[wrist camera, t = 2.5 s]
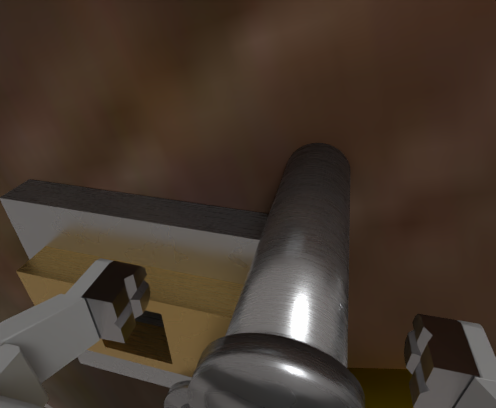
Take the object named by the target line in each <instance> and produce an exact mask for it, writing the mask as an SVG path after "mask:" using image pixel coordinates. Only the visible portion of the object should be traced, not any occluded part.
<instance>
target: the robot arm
mask: <svg viewBox="0 0 496 408" xmlns="http://www.w3.org/2000/svg"><path fill="white" fill-rule="evenodd" d="M146 276H147V273H146V269H145V267H143V266H139V265H134V264H129V263H124V262H119V261H113V260H108V259H103V258H100V259H98V260H96V261H95V262H94V263H93V264H92V265H91V266H90V267H89V268H88V269H87V270H86V272H85V273H84V274H83V275H82V276H81V277H80V278H79V279H78V280H77V282H76V283H75V284H74V285H73V286H72V287H71V288H70V289H69V290H68V291H67V293H66V294H59V295H57V296H55V297H53V298H51V299H48V300H46V301H44V302H42V303H40V304H38V305H36V306H34V307H32V308H30V309H28V310H26V311H24V312H21V313H19V314H17V315H15V316H13V317H11V318H9V319H7V320H5V321H3V322H1V323H0V408H45V407H44V406H45V404H46V403H47V401H48V400H49V399H48V394H47V392H46V390H45V389H44V387H43V385H42V384H41V383H42V382H43V381H45V380H46V379H48V378H49V377H50V376H52V375H53V374H54V373H56V372H57V371H58V370H60V369H61V368H63V367H64V366H65V365H67V364H68V363H69V362H71V361H72V360H73V359H75V358H76V357H78V356H79V355H80V354H82V353H83V352H84V351H86V350H87V349H89V348H90V347H91V346H93V345H94V344H95V343H97V342H98V341H99V340H100V339H105V340H111V341H116V342H121V343H126V341H127V339H128V338H129V336H130V334H131V333H132V331H133V329H134V328H135V326H136V322H135V318H137V317H139V316H140V315H142V314H143V313H144V311H145V310H146V308H147V306H148V303H149V299H150V286H149V284H148V283H147V282H146V281H145V280H144V279H145V277H146ZM412 323H413V328H414V330H413V331H411V332H409V333H408V335H407V337H406V340H405V348H404V357H405V364H406V368H407V369H408V370H409V371H410V373H411V374H412V376H411V379H410V381H409V388H410V393H411V399H412V404H413V408H496V357H495V355H494V352H493V350H492V348H491V345H490V343H489V341H488V338H487V336H486V334H485V331H484V329H483V327H482V326H481V325H480V324H477V323H471V322H465V321H459V320H458V321H457V320H454V319H448V318H441V317H435V316H429V315H423V314H417V315H416V316H415V318H414V320H413V322H412Z"/></svg>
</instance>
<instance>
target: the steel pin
mask: <svg viewBox="0 0 496 408" xmlns="http://www.w3.org/2000/svg"><path fill="white" fill-rule="evenodd" d="M349 228H350V165H349V162H348V160H347V158H346V157H345V155H344V154H343V153H342V152H341V151H340V150H338V149H337V148H335V147H333V146H331V145H328V144H323V143H312V144H307V145H305V146H302V147H300V148H299V149H297V150H296V151H295V152H294V153H293V154H292V155H291V157H290V158H289V160H288V163H287V166H286V168H285V171H284V174H283V177H282V179H281V182H280V185H279V188H278V191H277V193H276V196H275V199H274V202H273V205H272V207H271V210H270V213H269V216H268V218H267V221H266V224H265V227H264V230H263V232H262V235H261V238H260V241H259V243H258V246H257V249H256V252H255V255H254V257H253V260H252V263H251V266H250V269H249V271H248V274H247V277H246V280H245V282H244V285H243V288H242V291H241V294H240V296H239V299H238V302H237V305H236V307H235V310H234V313H233V316H232V319H231V321H230V324H229V327H228V330H227V332H226V335H225V336H224V337H221V338H219V339H217V340H215V341H213V342H211V343H210V344H209V345H208V346H207V347H206V348H205V349H204V350H203V352H202V354H201V356H200V359H199V361H198V364H197V366H196V369H195V371H194V374H193V376H192V379H191V381H190V383H189V386H188V389H187V400H188V403H189V406H190V408H365V395H364V391H363V389H362V387H361V385H360V383H359V381H358V380H357V379H356V377H355V376H354V375H353V374H352V373H351V372H350V371H349V370H348V369H347V351H348V289H349Z"/></svg>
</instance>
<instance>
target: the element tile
mask: <svg viewBox="0 0 496 408" xmlns="http://www.w3.org/2000/svg"><path fill="white" fill-rule="evenodd" d="M347 369H348V370H349V371H350V372H351V373H352V374H353V375H354V376H355V377H356V379H357V380H358V381H359V383H360V385H361V387H362V389H363V391H364V395H365V408H413V404H412V399H411V393H410V388H409V381H410V379H411V376H412V374H411V373H410V371H409V370H408V369H372V368H347Z"/></svg>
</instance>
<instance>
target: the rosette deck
mask: <svg viewBox="0 0 496 408" xmlns="http://www.w3.org/2000/svg"><path fill="white" fill-rule="evenodd" d="M0 200H1V203H2V205H3V207H4V209H5V211H6V213H7V215H8V217H9V219H10V221H11V223H12V225H13V227H14V229H15V231H16V233H17V235H18V237H19V239H20V241H21V243H22V245H23V247H24V249H25V251H26V253H27V255H28V257H29V259H30V260H29V261H28V262H26V263H25V264H24V265H23V266H22V267H21V268H20V269H18V270H17V271H16V272H17V274H18V275H19V277H20V279H21V281H22V283H23V285H24V287H25V288H26V290H27V292H28V294H29V296H30V298H31V300H32V302H33V303H34V305H35V306H36V305H38V304H40V303H42V302H44V301H46V300H48V299H51V298H53V297H55V296H57V295H59V294H66V293H67V291H68V290H69V289H70V288H71V287H72V286H73V285H74V284H75V283H76V282H77V280H78V279H79V278H80V277H81V276H82V275H83V274H84V273H85V272H86V270H87V269H88V268H89V267H90V266H91V265H92V264H93V263H94V262H95V261H96V260H98V259H100V258H103V259H108V260H113V261H119V262H124V263H129V264H134V265H139V266H143V267H145V269H146V273H147V276H146V277H145V279H144V280H145V281H146V282H147V283H148V284H149V286H150V299H149V303H148V306H147V308H146V310H145V311H144V313H143V314H142V315H140V316H139V317H137V318H135V322H136V326H135V328H134V329H133V331H132V333H131V334H130V336H129V338H128V339H127V341H126V343H121V342H116V341H111V340H105V339H100V340H99V341H98V342H97V343H95V344H94V345H93V346H91V347H90V348H89V349H87V350H86V351H84V352H83V353H82V354H80V355H79V356H78V359H79V361H80V363H82V364H85V365H89V366H93V367H96V368H100V369H103V370H107V371H111V372H114V373H118V374H122V375H125V376H129V377H133V378H136V379H140V380H144V381H147V382H151V383H155V384H158V385H162V386H165V387H169V388H170V390H169V392H168V394H167V396H166V399H165V401H164V408H190V406H189V403H188V400H187V389H188V386H189V383H190V381H191V379H192V376H193V374H194V371H195V369H196V366H197V364H198V361H199V359H200V356H201V354H202V352H203V350H204V349H205V348H206V347H207V346H208V345H209V344H210V343H211V342H213V341H215V340H217V339H219V338H221V337H224V336H225V335H226V332H227V330H228V327H229V324H230V321H231V319H232V316H233V313H234V310H235V307H236V305H237V302H238V299H239V296H240V294H241V291H242V288H243V285H244V282H245V280H246V277H247V274H248V271H249V269H250V266H251V263H252V260H253V257H254V255H255V252H256V249H257V246H258V243H259V241H260V238H261V235H262V232H263V230H264V227H265V224H266V221H267V218H268V216H269V214H265V213H259V212H252V211H245V210H238V209H231V208H224V207H217V206H210V205H203V204H196V203H189V202H182V201H176V200H169V199H162V198H155V197H148V196H141V195H134V194H127V193H120V192H113V191H106V190H99V189H93V188H86V187H79V186H72V185H65V184H58V183H51V182H44V181H37V180H30V179H29V180H27V181H26V182H24V183H22V184H21V185H19V186H18V187H16V188H14V189H13V190H11V191H9V192H8V193H6V194H5V195H3V196H1V197H0Z"/></svg>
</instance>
